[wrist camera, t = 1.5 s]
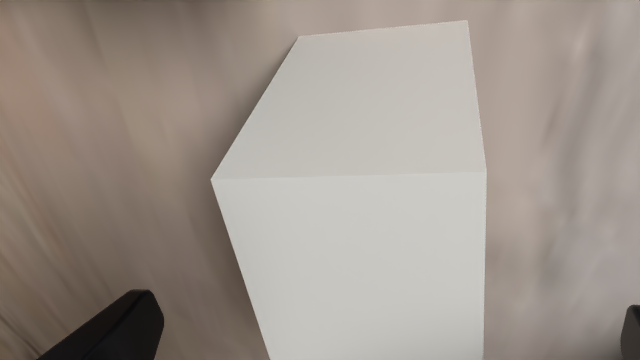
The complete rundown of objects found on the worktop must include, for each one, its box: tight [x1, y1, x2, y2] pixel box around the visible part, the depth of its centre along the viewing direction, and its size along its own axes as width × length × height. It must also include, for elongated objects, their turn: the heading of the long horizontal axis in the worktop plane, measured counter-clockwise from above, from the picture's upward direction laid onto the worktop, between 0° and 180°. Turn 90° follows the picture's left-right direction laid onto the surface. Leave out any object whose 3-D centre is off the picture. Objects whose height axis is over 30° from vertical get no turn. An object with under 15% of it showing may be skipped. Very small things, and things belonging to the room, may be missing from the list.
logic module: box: [211, 20, 487, 360], centre depth 13 cm, size 4×6×7 cm
